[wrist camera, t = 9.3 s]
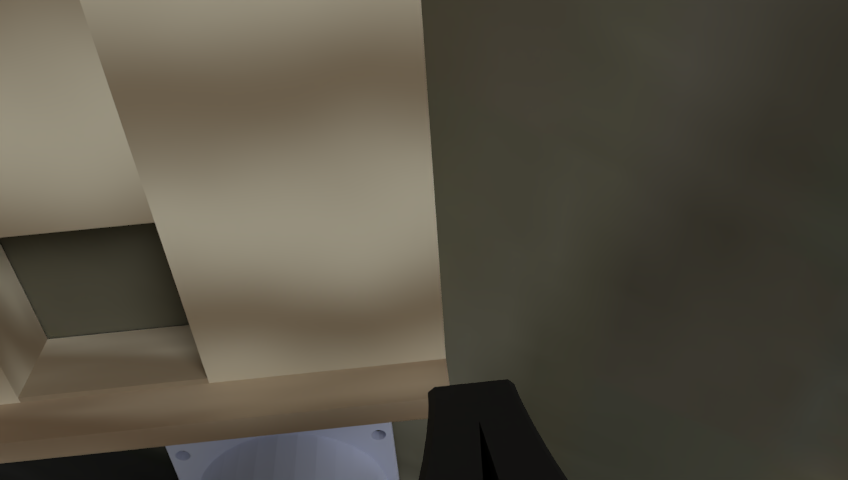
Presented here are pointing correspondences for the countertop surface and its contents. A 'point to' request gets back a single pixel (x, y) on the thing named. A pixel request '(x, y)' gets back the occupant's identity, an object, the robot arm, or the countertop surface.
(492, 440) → the robot arm
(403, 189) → the mottled shallow tray
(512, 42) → the countertop surface
